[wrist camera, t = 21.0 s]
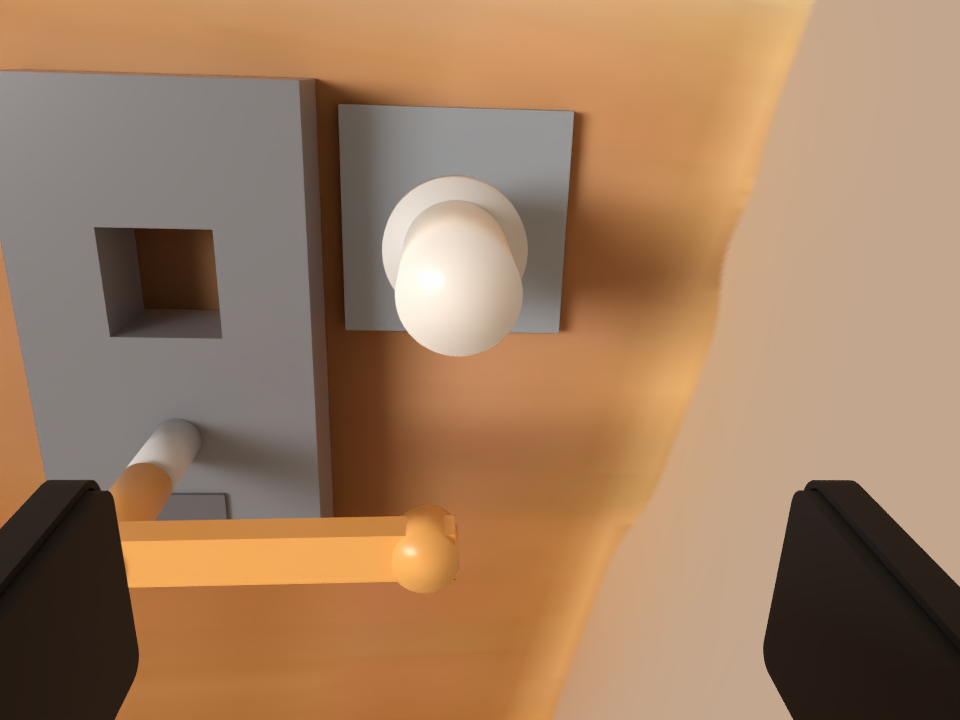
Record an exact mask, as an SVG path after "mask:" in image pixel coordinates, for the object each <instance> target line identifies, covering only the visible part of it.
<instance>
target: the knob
mask: <svg viewBox="0 0 960 720" xmlns="http://www.w3.org/2000/svg"><path fill="white" fill-rule="evenodd" d="M527 256H528V244H527V237H526V232H525V229H524V226H523V223H522V221H521V219H520V217H519V215H518V213H517V211H516V210H515V208H514V206H513V205H512V203H511V202H510V201H509V200H508V198H507V197H506V196H505V195H504V194H503V193H502V192H500V191H499V190H498V189H496V188H495V187H494V186H492V185H491V184H489V183H487V182H485V181H483V180H480V179H477V178H474V177H470V176H466V175H444V176H438V177H435V178H431V179H428V180H426V181H424V182H422V183H420V184H418V185H417V186H415V187H414V188H412V189H411V190H410V191H408V192H407V193H406V194H405V195H404V196H403V197H402V198H401V199H400V200H399V202H398V203H397V204H396V206H395V207H394V209H393V211H392V213H391V215H390V217H389V219H388V222H387V225H386V228H385V231H384V236H383V241H382V258H383V264H384V269H385V272H386V275H387V277H388V280H389V282H390V283H391V285H392V287H393V289H394V290H395V304H396V308H397V312H398V315H399V318H400V320H401V322H402V324H403V326H404V327H405V329H406V330H407V332H408V333H409V334H410V335H411V336H412V337H413V338H414V339H415V340H416V341H417V342H418V343H420V344H421V345H423V346H424V347H426V348H427V349H430V350H432V351H434V352H437V353H440V354H443V355H448V356H469V355H474V354H477V353H481V352H483V351H486V350H488V349H490V348H491V347H493V346H495V345H496V344H498V343H499V342H500V341H501V340H503V339H504V338H505V337H506V336H507V335H508V333H509V332H510V331H511V329H512V328H513V327H514V325H515V323H516V321H517V319H518V317H519V314H520V311H521V307H522V301H523V287H522V281H521V279H522V277H523V274H524V271H525V267H526V264H527Z"/></svg>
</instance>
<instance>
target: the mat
mask: <svg viewBox="0 0 960 720" xmlns="http://www.w3.org/2000/svg"><path fill="white" fill-rule="evenodd" d="M338 117H339V148H340V178H341V208H342V239H343V269H344V299H345V330H373V331H407V330H406V329H405V327H404V326H403V324H402V322H401V320H400V318H399V315H398V312H397V308H396V304H395V290H394V289H393V287H392V285H391V283H390V282H389V280H388V277H387V275H386V272H385V269H384V264H383V258H382V241H383V236H384V231H385V228H386V225H387V222H388V219H389V217H390V215H391V213H392V211H393V209H394V207H395V206H396V204H397V203H398V202H399V200H400V199H401V198H402V197H403V196H404V195H405V194H406V193H407V192H408V191H410V190H411V189H412V188H414V187H415V186H417V185H418V184H420V183H422V182H424V181H426V180H428V179H431V178H435V177H438V176H444V175H466V176H470V177H474V178H477V179H480V180H483V181H485V182H487V183H489V184H491V185H492V186H494V187H495V188H496V189H498V190H499V191H500V192H502V193H503V194H504V195H505V196H506V197H507V198H508V200H509V201H510V202H511V203H512V205H513V206H514V208H515V210H516V211H517V213H518V215H519V217H520V219H521V221H522V223H523V226H524V229H525V232H526V237H527V244H528V256H527V264H526V267H525V271H524V274H523V277H522V279H521V281H522V287H523V301H522V307H521V311H520V314H519V317H518V319H517V321H516V323H515V325H514V327H513V328H512V329H511V331H510V332H514V333H559V321H560V307H561V293H562V278H563V264H564V250H565V235H566V221H567V207H568V193H569V178H570V164H571V150H572V135H573V121H574V111H565V110H531V109H497V108H463V107H428V106H394V105H360V104H338Z"/></svg>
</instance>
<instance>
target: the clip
mask: <svg viewBox="0 0 960 720" xmlns="http://www.w3.org/2000/svg"><path fill="white" fill-rule="evenodd" d="M109 492H111V494H112V495H113V498H114V502H115V508H116V514H117V520H118V527H119V533H120V539H121V545H122V551H123V557H124V563H125V570H126V576H127V582H128V588H129V587H173V586H218V585H263V584H307V583H352V582H397V581H398V582H399V583H400V584H401V585H402V586H403V587H405V588H406V589H408V590H411V591H413V592H417V593H432V592H436V591H439V590H441V589H443V588H445V587H447V586H448V585H449V584H450V583H451V582H452V581H453V580H455V577H456V574H457V572H458V534H457V525H456V522H455V515H451V514H450V513H448V512H447V511H446V510H444V509H443V508H440V507H438V506H434V505H419V506H415V507H412V508H410V509H408V510H407V511H406V512H404V513H403V514H402V515H401V516H387V517H334V518H281V519H227V520H174V521H155V520H156V518H157V517H158V515H159V514H160V512H161V510H162V509H163V507H164V506H165V504H166V502H167V501H168V499H169V498H170V496H171V494H172V482H171V479H170V477H169V476H168V474H167V473H166V472H165V471H164V470H163V469H161V468H160V467H158V466H156V465H154V464H150V463H136V464H133V465H131V466H129V467H127V468H126V469H125V470H124V471H123V473H122V474H121V475H120V476H119V478H118V479H117V480H116V482H115V483H114V484H113V485H112V487H111V488H110V489H109Z"/></svg>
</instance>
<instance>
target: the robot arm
mask: <svg viewBox="0 0 960 720" xmlns="http://www.w3.org/2000/svg"><path fill="white" fill-rule="evenodd" d="M763 653H764V661H765V665H766V668H767V671H768V673H769V675H770V677H771V679H772V681H773V682H774V684H775V686H776V688H777V690H778V692H779V694H780V695H781V697H782V699H783V701H784V703H785V705H786V707H787V709H788V710H789V712H790V714H791V716H792V718H793V720H960V587H959V586H958V585H957V584H956V583H955V582H954V581H953V580H952V579H951V578H950V577H949V576H948V575H947V574H946V572H944V571H943V570H942V568H941V567H940V566H939V565H938V564H937V563H936V562H935V561H934V560H933V559H932V558H931V557H930V556H929V555H928V554H927V553H926V552H925V551H924V550H923V549H922V548H921V547H920V546H919V545H918V544H917V543H916V542H915V541H914V540H913V539H912V538H911V537H910V536H909V535H908V534H907V533H906V532H905V531H904V530H903V529H902V528H901V527H900V526H899V525H898V524H897V523H896V522H895V521H894V520H893V519H892V518H891V516H889V514H887V512H886V511H885V510H884V509H883V508H882V507H881V506H880V505H879V504H878V503H877V502H876V501H875V500H874V499H873V498H872V497H871V496H870V495H869V494H868V493H867V492H866V491H865V490H864V489H863V488H862V487H861V486H860V485H859V484H858V483H856V482H855V481H849V480H812V481H810V482H809V483H808V484H807V485H806V487H805V489H804V491H797V492H796V493H795V494H794V496H793V499H792V502H791V507H790V512H789V518H788V523H787V528H786V533H785V538H784V543H783V548H782V553H781V558H780V563H779V568H778V573H777V578H776V583H775V588H774V593H773V598H772V603H771V608H770V613H769V619H768V624H767V629H766V634H765V639H764V646H763ZM138 662H139V650H138V643H137V637H136V631H135V625H134V619H133V613H132V606H131V600H130V594H129V588H128V582H127V576H126V570H125V563H124V557H123V551H122V545H121V539H120V533H119V527H118V520H117V514H116V508H115V502H114V498H113V495H112V494H111V492H109V491H101V489H100V487H99V485H98V483H97V482H96V481H94V480H47V481H46V482H44V483H43V484H42V485H41V486H40V487H39V488H38V489H37V490H36V491H35V492H34V494H33V495H32V496H31V497H30V498H29V499H28V500H27V501H26V502H25V503H24V504H23V505H22V506H21V507H20V509H19V510H18V511H17V512H16V513H15V514H14V515H13V516H12V517H11V518H10V519H9V520H8V521H7V522H6V523H5V525H4V526H3V527H2V528H1V529H0V720H115V718H116V716H117V713H118V711H119V709H120V707H121V705H122V703H123V701H124V699H125V697H126V695H127V693H128V691H129V689H130V687H131V685H132V683H133V681H134V678H135V676H136V672H137V668H138Z"/></svg>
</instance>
